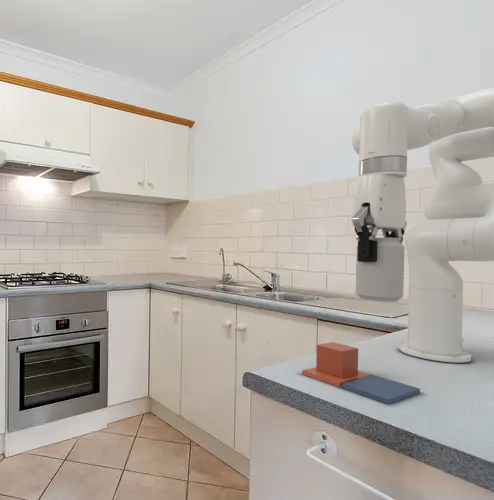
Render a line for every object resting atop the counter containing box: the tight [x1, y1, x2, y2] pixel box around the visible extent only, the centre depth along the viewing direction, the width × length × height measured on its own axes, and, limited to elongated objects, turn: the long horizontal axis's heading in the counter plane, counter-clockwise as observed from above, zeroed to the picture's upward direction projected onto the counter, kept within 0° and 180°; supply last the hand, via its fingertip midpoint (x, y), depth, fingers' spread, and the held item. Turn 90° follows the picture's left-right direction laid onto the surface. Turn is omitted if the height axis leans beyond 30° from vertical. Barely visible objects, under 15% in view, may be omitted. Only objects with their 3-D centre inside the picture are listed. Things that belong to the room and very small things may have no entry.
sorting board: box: [301, 366, 421, 405], centre depth 66 cm, size 10×15×1 cm, turn 28°
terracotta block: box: [315, 341, 359, 379], centre depth 69 cm, size 5×5×5 cm
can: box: [355, 237, 406, 303], centre depth 70 cm, size 8×8×12 cm
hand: (379, 261), depth 70 cm, fingers closed on can, 7 cm apart
